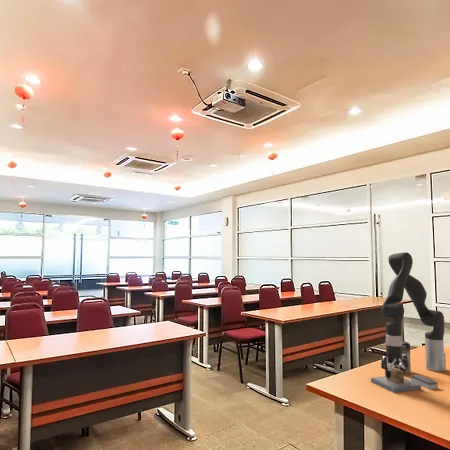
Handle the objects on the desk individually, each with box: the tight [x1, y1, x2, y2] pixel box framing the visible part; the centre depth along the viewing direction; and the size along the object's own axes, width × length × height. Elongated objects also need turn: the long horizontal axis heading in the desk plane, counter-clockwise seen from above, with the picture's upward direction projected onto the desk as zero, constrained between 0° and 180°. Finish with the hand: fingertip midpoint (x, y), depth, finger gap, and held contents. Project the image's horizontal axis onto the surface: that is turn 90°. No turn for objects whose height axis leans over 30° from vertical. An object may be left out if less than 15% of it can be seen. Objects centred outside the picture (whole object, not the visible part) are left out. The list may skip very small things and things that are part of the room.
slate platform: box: [370, 375, 422, 394], centre depth 182 cm, size 16×16×2 cm
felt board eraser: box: [410, 374, 439, 390], centre depth 184 cm, size 12×5×3 cm, turn 14°
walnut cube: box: [387, 368, 405, 384], centre depth 182 cm, size 6×6×6 cm
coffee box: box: [391, 340, 412, 374], centre depth 206 cm, size 9×6×16 cm
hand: (395, 377), depth 182 cm, fingers open, 8 cm apart
